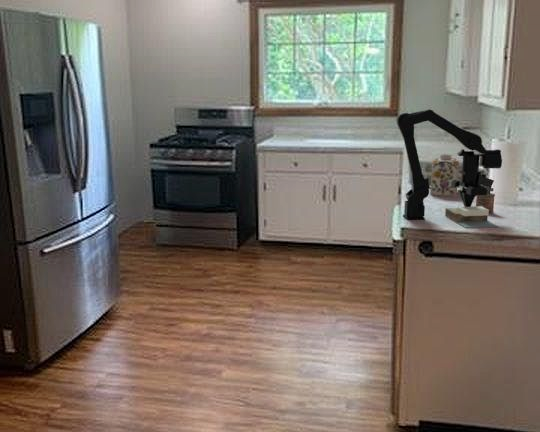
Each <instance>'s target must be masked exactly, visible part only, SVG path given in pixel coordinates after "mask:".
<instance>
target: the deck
mask: <svg viewBox="0 0 540 432" xmlns="http://www.w3.org/2000/svg"><path fill="white" fill-rule="evenodd" d="M444 216H445V217H446V218H448V219H449V220H451V221H452V222H454V223H456V222H455V221H488V217H489V215H485V216H463V215H461V214H460V213H458V207H453V208H448V207H447V208H445V214H444Z"/></svg>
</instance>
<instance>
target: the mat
mask: <svg viewBox="0 0 540 432" xmlns="http://www.w3.org/2000/svg"><path fill="white" fill-rule="evenodd" d="M454 223H456V224H458V225H459V226H461V227H462V228H464V229H480V228H481V229H483V228H484V229H486V228H489V229H490V228H499V225H497V224H496V223H495V224H494V223H493V222H491V221H490V220H487V221H455V222H454Z"/></svg>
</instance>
